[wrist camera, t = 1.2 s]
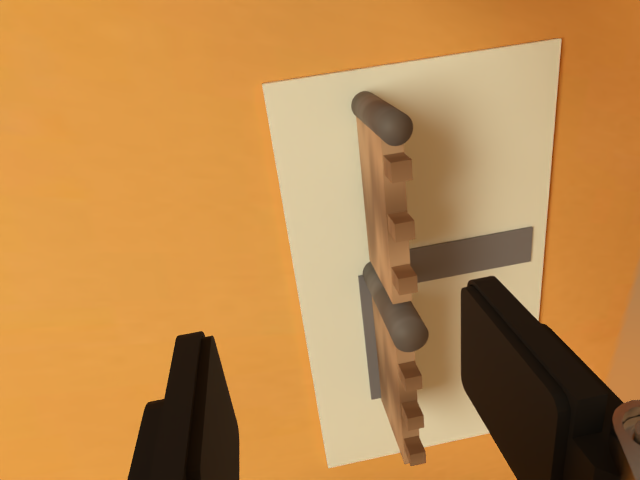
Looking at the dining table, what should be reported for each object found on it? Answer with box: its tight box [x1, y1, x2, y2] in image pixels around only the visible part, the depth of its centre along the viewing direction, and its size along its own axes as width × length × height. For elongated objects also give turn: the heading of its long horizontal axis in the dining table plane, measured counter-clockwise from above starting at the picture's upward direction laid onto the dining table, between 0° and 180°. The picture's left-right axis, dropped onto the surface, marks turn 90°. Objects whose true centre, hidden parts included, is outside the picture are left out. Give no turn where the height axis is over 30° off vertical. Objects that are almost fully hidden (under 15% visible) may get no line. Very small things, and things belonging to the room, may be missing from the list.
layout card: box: [262, 38, 562, 468], centre depth 32 cm, size 28×16×1 cm, turn 7°
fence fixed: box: [363, 262, 429, 466], centre depth 30 cm, size 11×2×7 cm, turn 7°
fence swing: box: [351, 91, 418, 304], centre depth 24 cm, size 10×1×6 cm, turn 7°
